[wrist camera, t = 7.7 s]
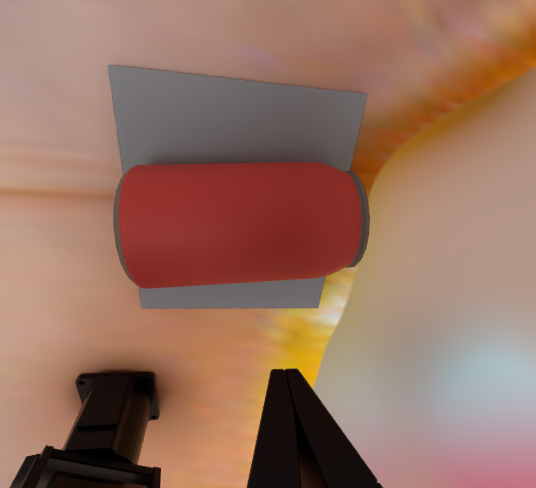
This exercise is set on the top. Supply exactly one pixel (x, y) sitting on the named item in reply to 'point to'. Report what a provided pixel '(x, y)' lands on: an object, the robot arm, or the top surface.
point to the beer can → (238, 222)
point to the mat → (231, 151)
